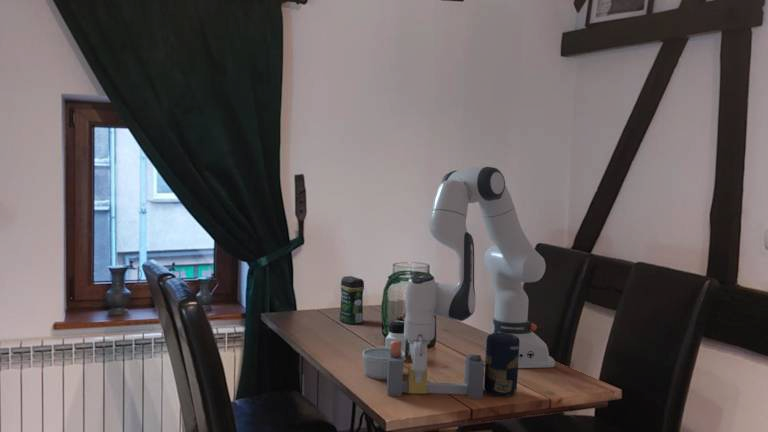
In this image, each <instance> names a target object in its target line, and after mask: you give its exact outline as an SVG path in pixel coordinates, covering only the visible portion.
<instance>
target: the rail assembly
mask: <svg viewBox="0 0 768 432" xmlns="http://www.w3.org/2000/svg"><path fill="white" fill-rule="evenodd" d="M403 371H404V363H403V357H402V353H401V356H400V357H392V356H390V352H388V373H387V379H386V380H387V381H386V388H387V389H386V390H387V391H386V392H387V396H389V397H390V396H392V397H394V396H395V397H401V396H403V393H409V382H408V380H407V381H403V377H404V376H403V375H404V374H403V373H404V372H403ZM484 380H485V361H483V359H482V357H481V355H479V354H474V353H473V354H466V355H465V369H464V383H463V382H461V383H460V382H435V381H433V382H431V381H427V387H426V394H450V395H455V394H456V395H467V398H468V399H479V398H482V399H483V398H484V396H483V395H484Z"/></svg>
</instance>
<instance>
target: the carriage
mask: <svg viewBox="0 0 768 432" xmlns="http://www.w3.org/2000/svg"><path fill="white" fill-rule="evenodd" d="M407 371H408V373H407V374H408V375H407V381H408V382H409V392H408V394H425V395H426V394H427V393H426V387H427V382H428V369H427V370H426V372H423V373H422V379H421V383H416V382H415V371H414V369H413V364H412V363H408V370H407Z"/></svg>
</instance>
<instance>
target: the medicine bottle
mask: <svg viewBox="0 0 768 432" xmlns="http://www.w3.org/2000/svg"><path fill="white" fill-rule="evenodd" d="M393 340H398V341H401V342H402V349H401V351H403V352H404V353H405V359H404V361H406V360H407V358H408V357H409V355H410V347H409V343H408V339H407V338H405V337H404V321H401V320H393V321H391V322H389V325H388V335H387V336H386V337H385V344H384V348H390V347H391V341H393Z"/></svg>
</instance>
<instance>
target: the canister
mask: <svg viewBox="0 0 768 432" xmlns="http://www.w3.org/2000/svg"><path fill="white" fill-rule="evenodd" d="M519 344H520V341H519V338H518V337H517V336H515V335H511V334H506V333H501V332H499V333H493V334H492V333H490V334H488V335H487V336H486V344H485V346H486V347H485V361H484V382H483V390H484V391H486V393H488V394H489V395H492V396H497V397H508V396H509V397H510V396H513V395H515V394H516V393H517V389H518V376H519V368H518V358H519Z"/></svg>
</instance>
